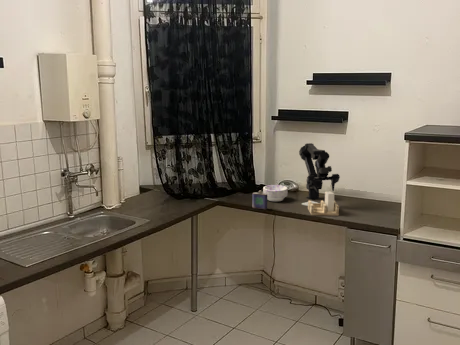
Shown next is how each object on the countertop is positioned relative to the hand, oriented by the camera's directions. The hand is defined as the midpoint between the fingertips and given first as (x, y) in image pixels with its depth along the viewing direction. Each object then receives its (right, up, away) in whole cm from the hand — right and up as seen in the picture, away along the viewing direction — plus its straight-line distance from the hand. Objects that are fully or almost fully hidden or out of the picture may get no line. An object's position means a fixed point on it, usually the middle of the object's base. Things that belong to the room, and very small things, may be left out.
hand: (325, 191), depth 275 cm
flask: (-38, -10, +2) cm, 39 cm away
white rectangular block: (+1, -10, -6) cm, 12 cm away
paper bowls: (-27, -6, +21) cm, 35 cm away
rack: (-3, -11, -6) cm, 13 cm away
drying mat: (-5, -8, +8) cm, 13 cm away
